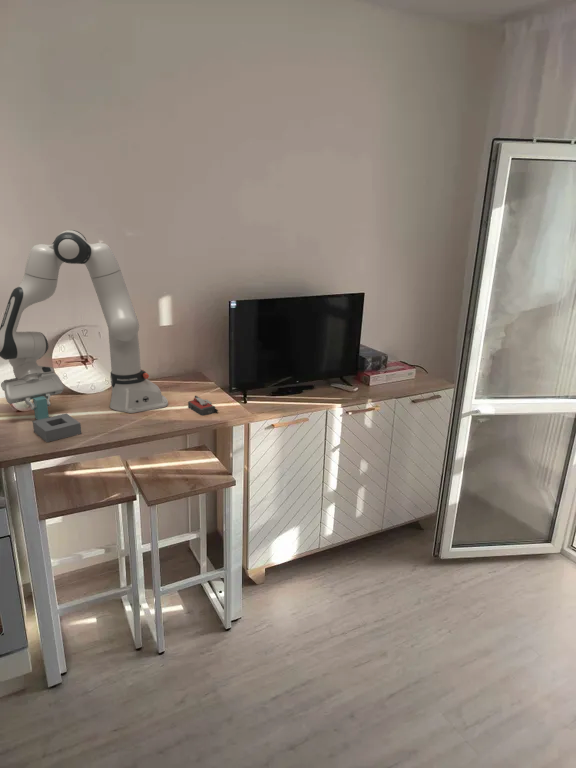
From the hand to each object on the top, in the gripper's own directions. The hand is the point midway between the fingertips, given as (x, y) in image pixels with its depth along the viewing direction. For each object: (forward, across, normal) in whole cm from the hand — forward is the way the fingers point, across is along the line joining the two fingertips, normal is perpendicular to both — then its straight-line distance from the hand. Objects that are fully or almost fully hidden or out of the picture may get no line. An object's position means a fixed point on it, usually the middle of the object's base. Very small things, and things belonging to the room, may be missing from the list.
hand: (41, 407), depth 213 cm
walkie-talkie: (+22, +53, -13) cm, 59 cm away
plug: (+3, 0, +4) cm, 5 cm away
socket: (+14, -1, -7) cm, 16 cm away
